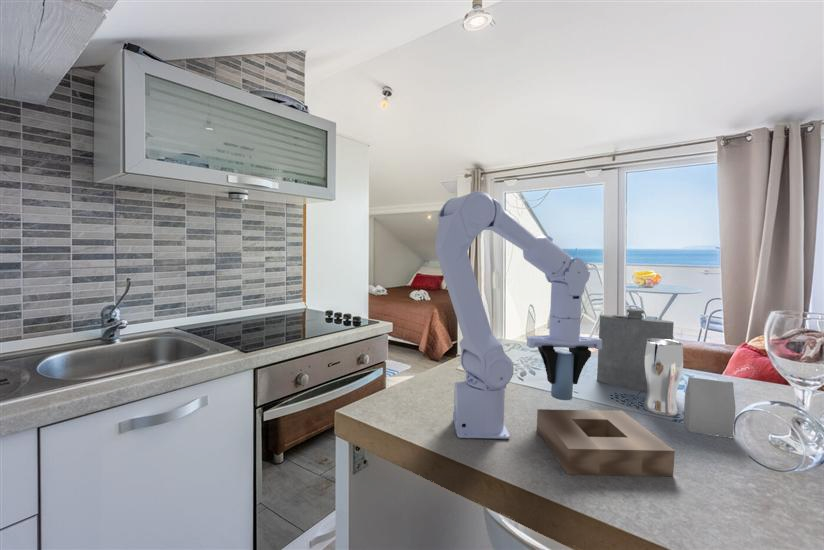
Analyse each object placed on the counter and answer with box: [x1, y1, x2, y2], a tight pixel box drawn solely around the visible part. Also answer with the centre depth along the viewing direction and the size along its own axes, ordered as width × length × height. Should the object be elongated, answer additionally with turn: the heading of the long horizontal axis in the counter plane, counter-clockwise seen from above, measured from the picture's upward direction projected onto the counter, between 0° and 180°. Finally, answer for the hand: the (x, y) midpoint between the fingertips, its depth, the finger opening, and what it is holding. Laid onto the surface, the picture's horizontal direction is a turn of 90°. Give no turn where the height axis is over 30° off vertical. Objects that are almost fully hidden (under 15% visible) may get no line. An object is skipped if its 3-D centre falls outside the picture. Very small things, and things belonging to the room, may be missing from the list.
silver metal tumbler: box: [643, 338, 684, 417], centre depth 79 cm, size 7×7×15 cm
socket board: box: [536, 408, 676, 477], centre depth 62 cm, size 16×14×4 cm
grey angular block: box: [682, 376, 737, 438], centre depth 70 cm, size 4×7×10 cm, turn 66°
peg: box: [550, 350, 574, 401], centre depth 75 cm, size 4×4×9 cm
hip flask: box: [596, 308, 675, 393], centre depth 93 cm, size 16×4×20 cm, turn 56°
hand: (562, 382), depth 75 cm, fingers closed on peg, 4 cm apart
